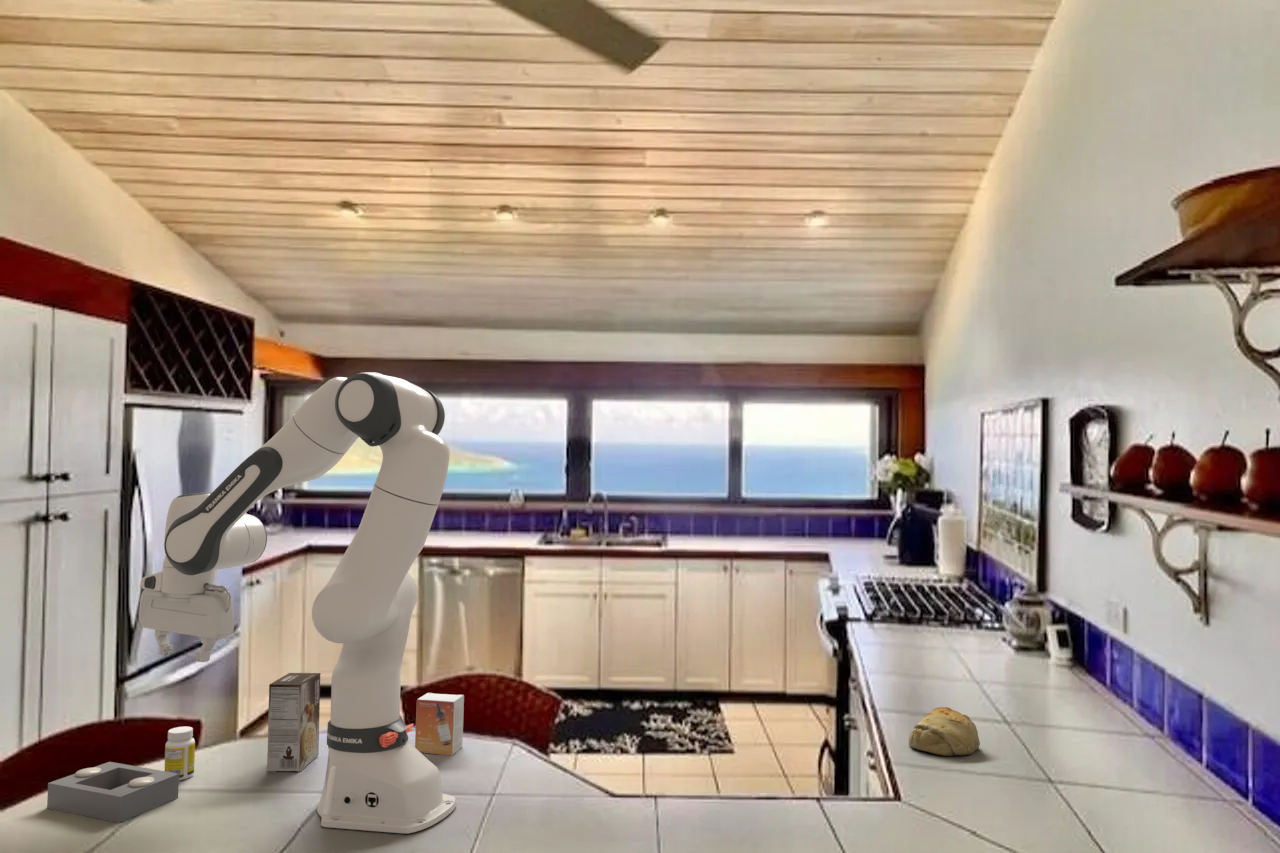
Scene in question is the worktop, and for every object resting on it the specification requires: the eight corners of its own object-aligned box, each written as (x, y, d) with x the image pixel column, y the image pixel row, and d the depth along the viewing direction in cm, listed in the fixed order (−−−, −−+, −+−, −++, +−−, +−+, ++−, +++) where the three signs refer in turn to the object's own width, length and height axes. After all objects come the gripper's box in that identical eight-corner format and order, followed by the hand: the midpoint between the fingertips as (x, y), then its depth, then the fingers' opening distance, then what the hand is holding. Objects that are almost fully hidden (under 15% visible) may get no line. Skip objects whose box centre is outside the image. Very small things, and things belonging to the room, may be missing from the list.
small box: (414, 753, 171) (415, 699, 171) (425, 744, 176) (427, 691, 177) (452, 756, 169) (454, 701, 170) (463, 747, 175) (464, 694, 175)
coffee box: (286, 755, 168) (289, 671, 169) (319, 755, 168) (321, 672, 169) (265, 772, 159) (268, 683, 160) (300, 772, 159) (302, 684, 160)
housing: (178, 797, 146) (179, 771, 147) (119, 822, 136) (120, 794, 136) (108, 784, 152) (109, 759, 152) (47, 807, 142) (48, 780, 142)
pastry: (975, 742, 183) (975, 703, 183) (985, 761, 170) (985, 720, 171) (905, 736, 186) (905, 699, 186) (910, 755, 174) (910, 715, 174)
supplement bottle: (187, 770, 160) (188, 723, 160) (198, 776, 157) (200, 729, 157) (159, 777, 156) (161, 729, 156) (170, 783, 153) (172, 735, 153)
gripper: (245, 584, 157) (240, 662, 156) (165, 574, 165) (160, 648, 164) (216, 588, 151) (210, 669, 150) (134, 578, 159) (129, 654, 158)
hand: (183, 658), depth 157 cm, fingers open, 8 cm apart
